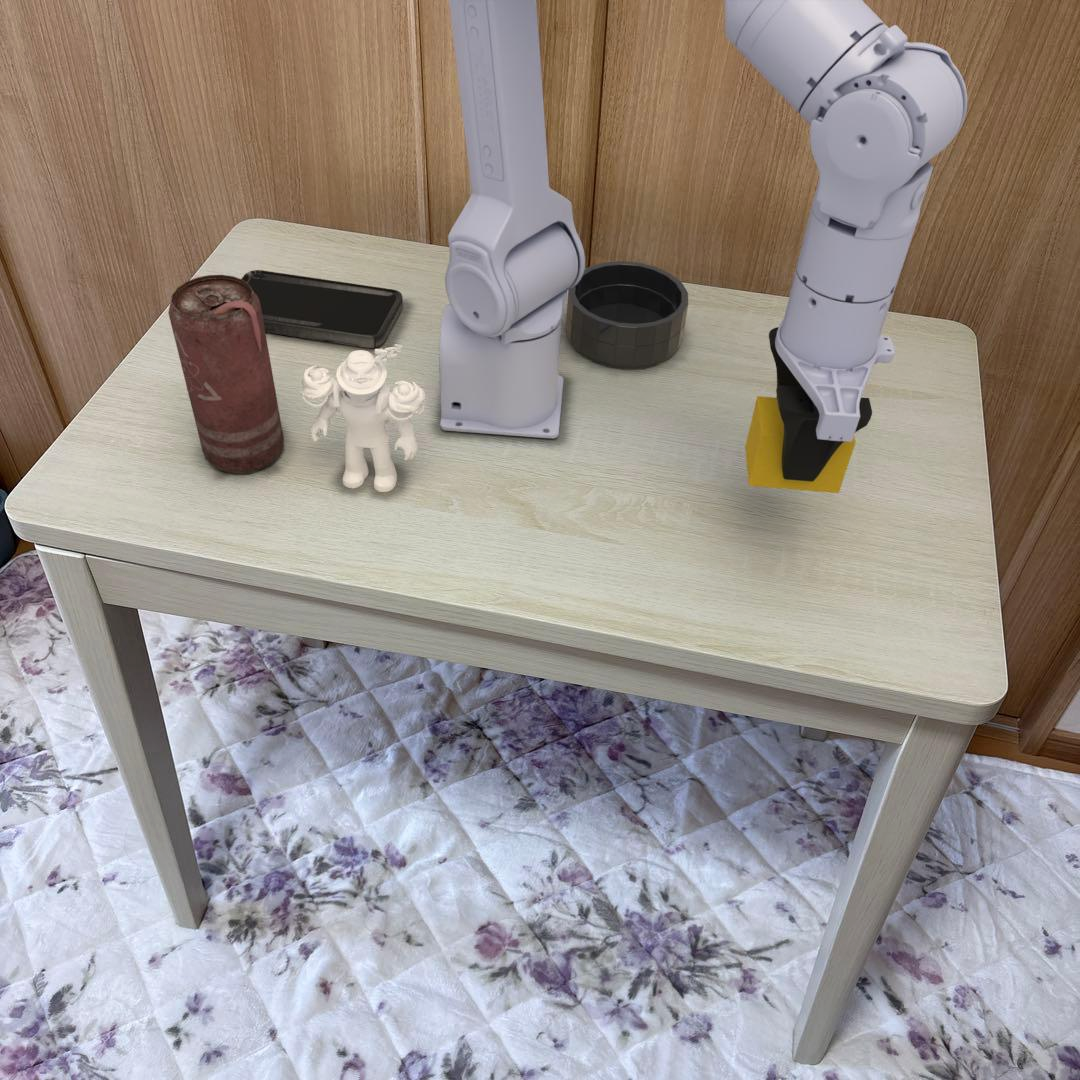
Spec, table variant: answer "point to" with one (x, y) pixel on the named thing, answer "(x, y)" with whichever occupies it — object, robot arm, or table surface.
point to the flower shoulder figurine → (365, 413)
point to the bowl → (626, 315)
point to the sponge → (768, 454)
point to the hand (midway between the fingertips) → (795, 454)
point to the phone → (325, 308)
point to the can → (227, 372)
